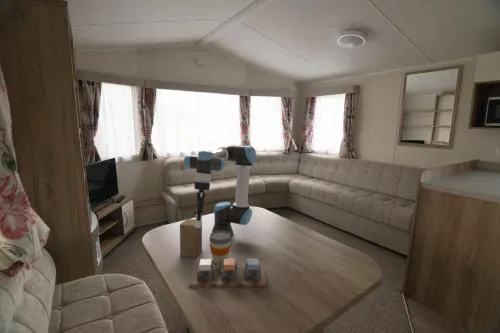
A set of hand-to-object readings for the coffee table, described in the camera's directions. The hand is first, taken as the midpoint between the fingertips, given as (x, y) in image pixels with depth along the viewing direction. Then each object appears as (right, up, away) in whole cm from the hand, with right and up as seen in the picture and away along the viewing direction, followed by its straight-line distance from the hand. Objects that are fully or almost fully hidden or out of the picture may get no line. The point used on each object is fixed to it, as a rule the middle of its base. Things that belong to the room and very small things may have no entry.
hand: (197, 224), depth 125 cm
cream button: (+3, -24, +3) cm, 25 cm away
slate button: (+27, -25, +4) cm, 37 cm away
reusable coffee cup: (+8, -26, +23) cm, 36 cm away
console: (+15, -29, +4) cm, 33 cm away
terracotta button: (+15, -25, +3) cm, 29 cm away
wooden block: (-10, -24, +28) cm, 39 cm away
